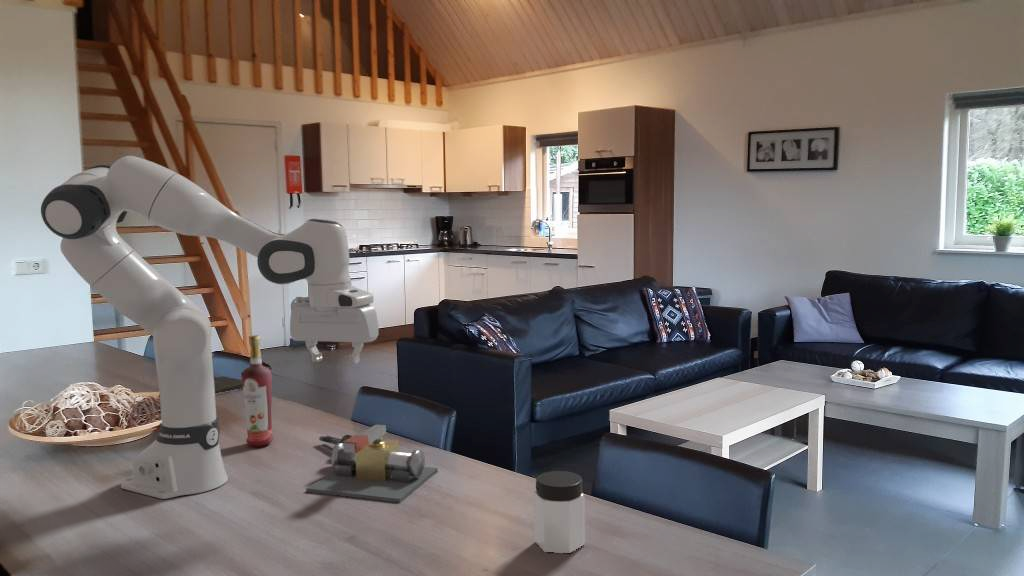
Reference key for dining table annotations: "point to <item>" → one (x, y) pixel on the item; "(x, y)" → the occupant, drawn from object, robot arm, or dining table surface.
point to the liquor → (257, 397)
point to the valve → (334, 439)
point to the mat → (369, 486)
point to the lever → (364, 439)
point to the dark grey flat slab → (226, 384)
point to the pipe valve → (378, 462)
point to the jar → (559, 512)
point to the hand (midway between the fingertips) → (335, 362)
